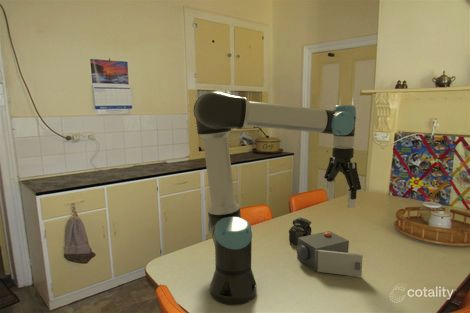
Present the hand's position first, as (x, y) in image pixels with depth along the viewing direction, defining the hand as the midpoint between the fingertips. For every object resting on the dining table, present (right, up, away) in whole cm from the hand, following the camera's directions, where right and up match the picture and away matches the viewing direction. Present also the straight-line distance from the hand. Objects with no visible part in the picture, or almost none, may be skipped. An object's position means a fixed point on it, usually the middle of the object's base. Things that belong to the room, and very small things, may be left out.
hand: (340, 202), depth 123 cm
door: (-4, -25, -8) cm, 26 cm away
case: (-6, -23, +4) cm, 24 cm away
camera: (-11, -21, +23) cm, 33 cm away
